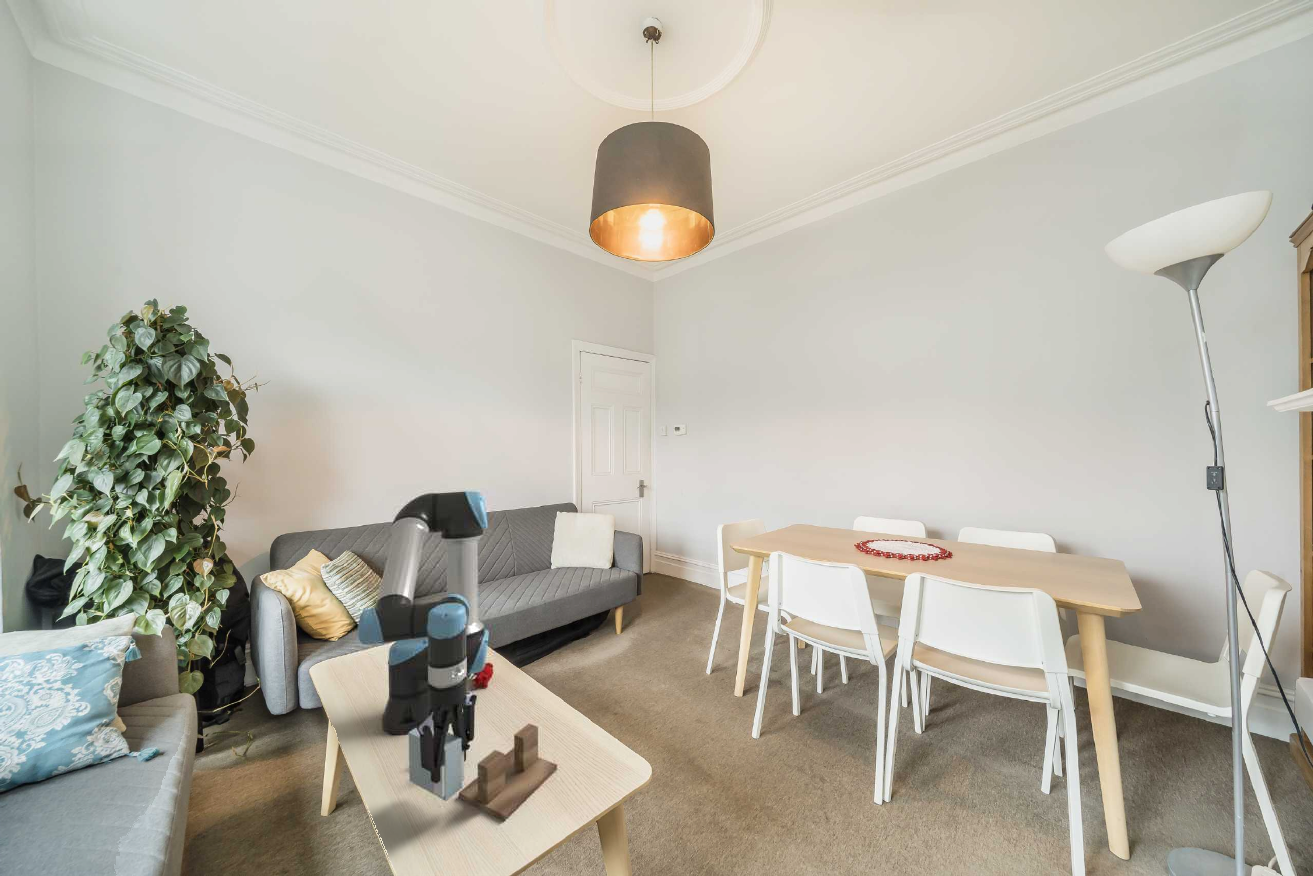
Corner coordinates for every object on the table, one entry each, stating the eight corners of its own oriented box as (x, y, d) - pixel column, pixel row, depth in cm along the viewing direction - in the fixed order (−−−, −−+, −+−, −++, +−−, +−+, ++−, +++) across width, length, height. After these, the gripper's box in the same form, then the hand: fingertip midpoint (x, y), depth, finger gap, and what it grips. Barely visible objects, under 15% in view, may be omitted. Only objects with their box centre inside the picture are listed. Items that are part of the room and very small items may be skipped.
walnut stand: (458, 798, 105) (458, 757, 105) (514, 752, 120) (513, 716, 120) (504, 821, 98) (504, 777, 98) (557, 769, 113) (556, 731, 113)
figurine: (469, 668, 162) (502, 678, 156) (450, 685, 154) (484, 696, 148) (466, 652, 160) (499, 661, 154) (446, 669, 153) (481, 678, 147)
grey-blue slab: (409, 781, 103) (408, 732, 103) (425, 769, 107) (424, 722, 106) (446, 801, 98) (445, 749, 97) (462, 788, 101) (461, 738, 101)
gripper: (423, 705, 90) (425, 823, 91) (491, 665, 105) (492, 766, 106) (398, 695, 93) (400, 809, 94) (468, 657, 109) (469, 755, 109)
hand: (449, 786), depth 100 cm, fingers closed on grey-blue slab, 4 cm apart
